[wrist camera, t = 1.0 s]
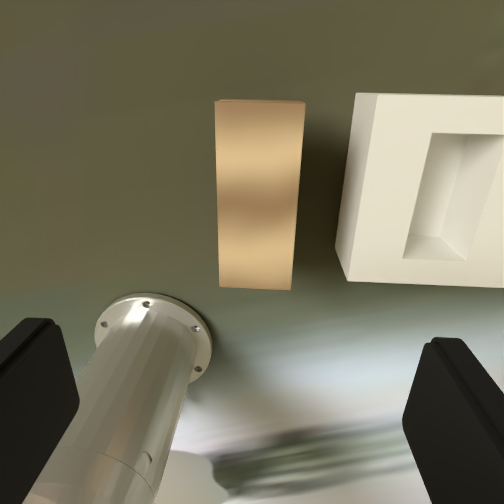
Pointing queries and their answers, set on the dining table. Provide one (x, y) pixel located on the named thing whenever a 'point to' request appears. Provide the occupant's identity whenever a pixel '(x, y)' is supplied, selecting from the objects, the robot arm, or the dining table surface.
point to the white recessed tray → (424, 191)
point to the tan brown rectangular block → (257, 190)
